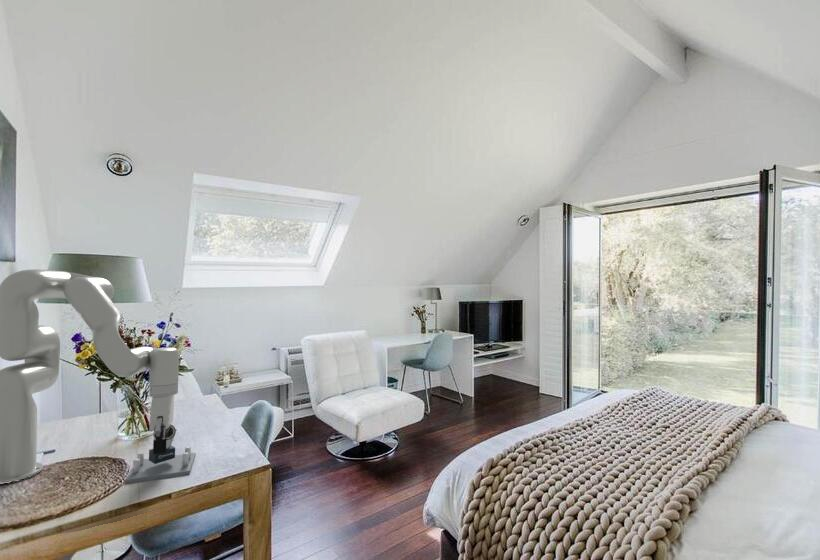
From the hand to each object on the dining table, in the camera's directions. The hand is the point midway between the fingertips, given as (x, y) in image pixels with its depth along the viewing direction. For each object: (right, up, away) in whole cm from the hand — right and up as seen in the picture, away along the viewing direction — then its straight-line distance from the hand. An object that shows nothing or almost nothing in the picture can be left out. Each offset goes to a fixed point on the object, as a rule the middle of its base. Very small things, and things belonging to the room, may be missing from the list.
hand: (162, 447), depth 123 cm
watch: (0, -4, 0) cm, 4 cm away
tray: (0, -6, 0) cm, 6 cm away
